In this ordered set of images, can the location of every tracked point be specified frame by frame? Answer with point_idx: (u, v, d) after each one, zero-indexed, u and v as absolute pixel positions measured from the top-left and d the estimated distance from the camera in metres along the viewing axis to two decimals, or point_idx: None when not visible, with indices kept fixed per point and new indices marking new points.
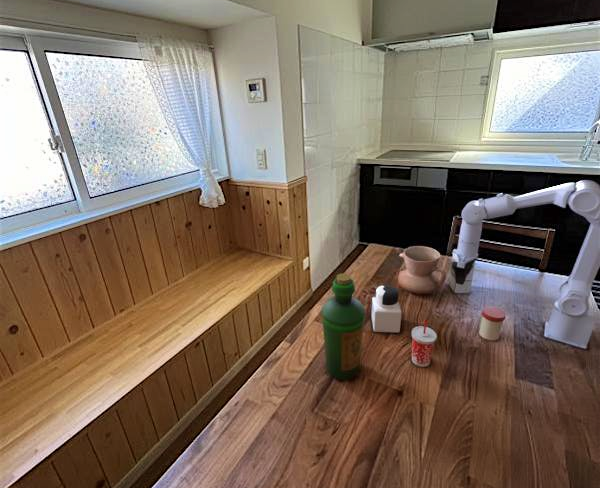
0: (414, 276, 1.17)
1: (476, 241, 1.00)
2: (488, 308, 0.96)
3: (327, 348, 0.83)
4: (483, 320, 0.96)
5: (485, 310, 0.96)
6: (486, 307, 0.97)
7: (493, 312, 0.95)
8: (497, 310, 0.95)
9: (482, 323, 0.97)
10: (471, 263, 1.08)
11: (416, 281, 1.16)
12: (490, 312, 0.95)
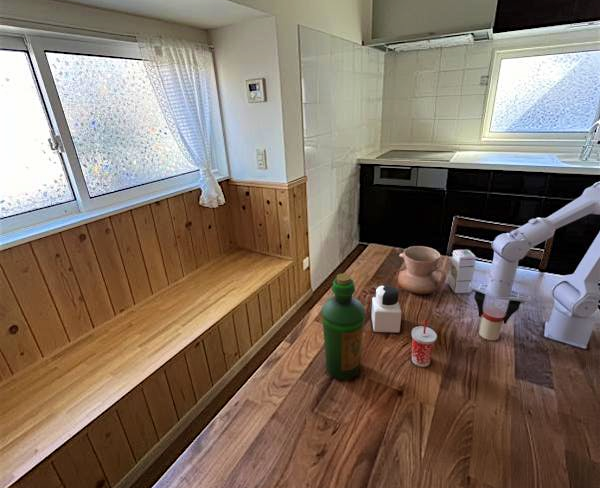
0: (414, 276, 1.17)
1: None
2: (488, 308, 0.96)
3: (327, 348, 0.83)
4: (483, 320, 0.96)
5: (485, 310, 0.96)
6: (486, 307, 0.97)
7: (493, 312, 0.95)
8: (497, 310, 0.95)
9: (482, 323, 0.97)
10: (506, 311, 0.92)
11: (416, 281, 1.16)
12: (489, 312, 0.95)
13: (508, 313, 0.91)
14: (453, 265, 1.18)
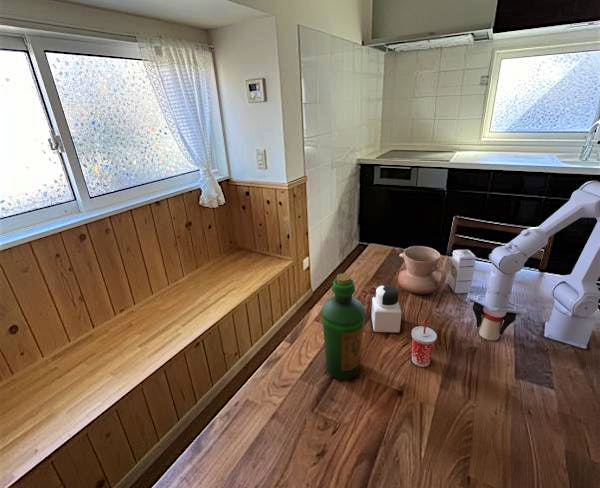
0: (414, 276, 1.17)
1: None
2: (499, 314, 0.93)
3: (327, 348, 0.83)
4: (483, 320, 0.96)
5: (502, 312, 0.94)
6: (501, 315, 0.93)
7: None
8: (490, 312, 0.94)
9: (482, 323, 0.96)
10: None
11: (416, 281, 1.16)
12: None
13: None
14: (453, 265, 1.18)
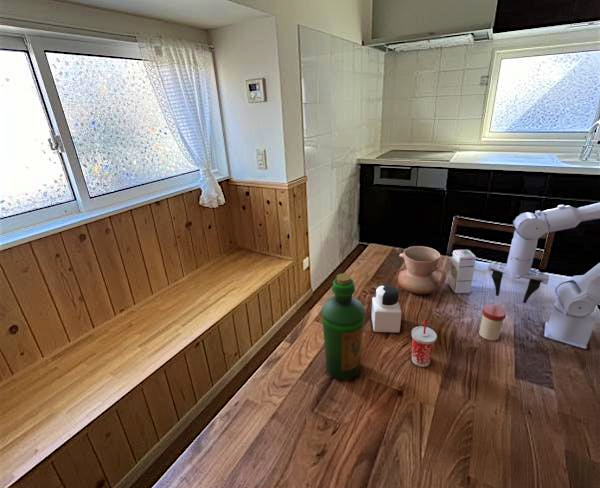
0: (414, 276, 1.17)
1: (532, 257, 0.90)
2: (489, 306, 0.96)
3: (327, 348, 0.83)
4: (484, 321, 0.96)
5: (485, 308, 0.96)
6: (487, 306, 0.97)
7: (493, 311, 0.94)
8: (498, 309, 0.95)
9: (483, 324, 0.96)
10: None
11: (416, 281, 1.16)
12: (490, 310, 0.95)
13: None
14: (453, 265, 1.18)
